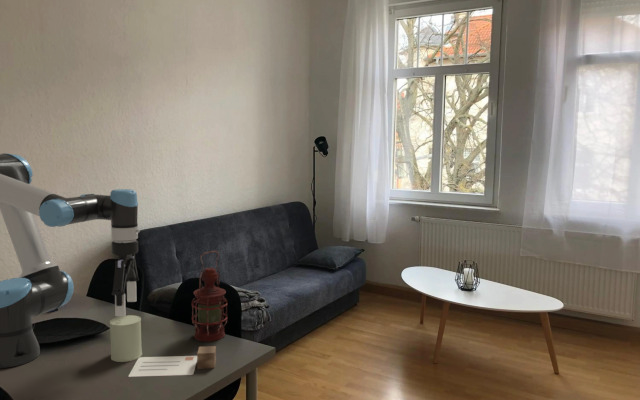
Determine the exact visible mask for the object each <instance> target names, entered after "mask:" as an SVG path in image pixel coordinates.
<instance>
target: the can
mask: <svg viewBox="0 0 640 400" xmlns="http://www.w3.org/2000/svg"><path fill="white" fill-rule="evenodd" d="M141 322H142V317H141V316H138V315H131V314H128V315H125V316H115V317H114V318H111V319H110V320H109V335H110V359H111V361H113V362H116V363H117V362H118V363H127V362H132V361H135V360H138V358H139V357H143V350H142V323H141Z"/></svg>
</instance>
